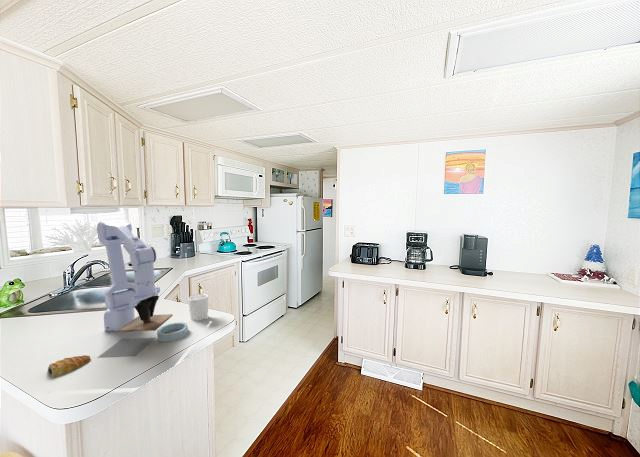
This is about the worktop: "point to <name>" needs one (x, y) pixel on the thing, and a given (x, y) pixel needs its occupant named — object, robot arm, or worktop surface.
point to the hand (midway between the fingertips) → (147, 318)
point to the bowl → (174, 335)
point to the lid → (146, 323)
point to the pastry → (67, 365)
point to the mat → (127, 347)
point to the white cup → (198, 307)
